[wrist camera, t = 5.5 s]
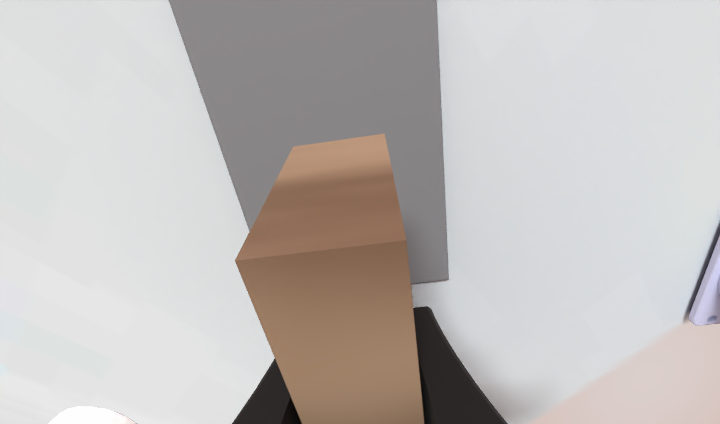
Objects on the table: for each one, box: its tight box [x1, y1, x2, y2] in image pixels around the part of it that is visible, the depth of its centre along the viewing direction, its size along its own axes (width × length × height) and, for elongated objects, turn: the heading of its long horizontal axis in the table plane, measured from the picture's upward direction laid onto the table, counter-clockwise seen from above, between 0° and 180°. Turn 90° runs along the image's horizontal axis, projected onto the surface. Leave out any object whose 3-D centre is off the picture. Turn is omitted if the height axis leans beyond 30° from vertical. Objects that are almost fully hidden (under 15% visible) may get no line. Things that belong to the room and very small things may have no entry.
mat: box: [169, 0, 449, 284], centre depth 16 cm, size 10×17×1 cm, turn 9°
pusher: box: [235, 134, 424, 424], centre depth 10 cm, size 13×7×5 cm, turn 8°
